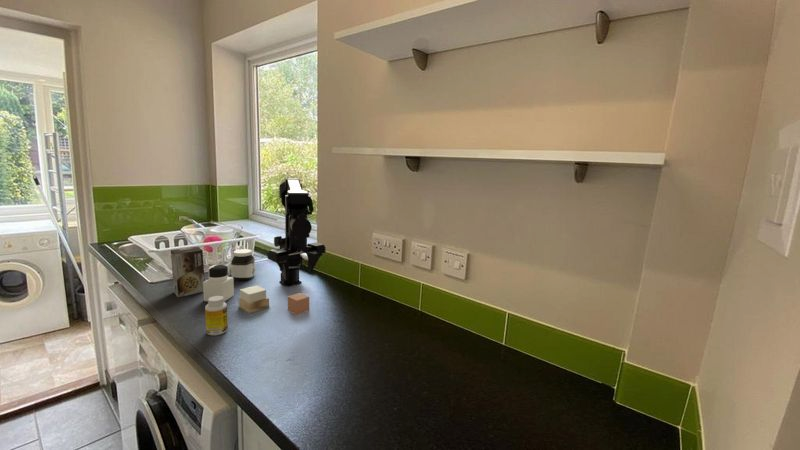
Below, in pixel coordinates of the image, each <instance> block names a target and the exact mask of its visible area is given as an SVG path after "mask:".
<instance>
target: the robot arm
mask: <svg viewBox="0 0 800 450" xmlns="http://www.w3.org/2000/svg"><path fill="white" fill-rule="evenodd" d="M278 187H279V188H278V197H279V199H280V203H281V204H282V206H283V207H284V210H285V211H284V219H285V221H284V222H285V223H284V224H285V225H284V226H285V227H284V228H285V229H284V232H285V233H284V234H285V237H282V236H280V235H279V236H274V237H273V244H274V247H279V248H276V249H275V248H274V249H270V250H269V251H267V260H270V261H271V262H274V263H276V264H277V266H278V267H279V271H280V280H279V284H282V285H284V286H285V287H286V286H287V287H291V286H295V285H298V284H302V281H301V280H300V270H302V269H303V267H304V266H303V265H304V264H303V263H304V257H303V256H302V254H306V256H307V274H308V275H311V274H312V273H313V270H314V269H315V267H316V265H317V263H318V261H319V260H320V258H321V257H322V256H324V255H323V254H325V253H326V251H327V248H326V246H325V244H324V243H321V242H317V241H316V242H309V243H308V238H310V233H311V231H312V230H313V229H312V223H311V222H310V220H309V219H308V216H309V215H310V216H311V215H313V212H314V202H313V199H312V197H311V195H309V192H308V191H307V190H304V189H303V188H304V187H303V184H301V180H300V178H297V177H286V178H284V181H283V182H281V183H280V184H279V186H278Z"/></svg>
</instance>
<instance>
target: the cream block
mask: <svg viewBox="0 0 800 450" xmlns="http://www.w3.org/2000/svg"><path fill="white" fill-rule="evenodd" d="M239 296H240V297H239V298H241V299H243V300H245V301H246V302H248V303H252V302H255V301H259V300H262V299H265V298H266V297H267V289H265V288H263V287H261V286H259V285H252V286H249V287H244V288H242V289H241V288H240V289H239Z"/></svg>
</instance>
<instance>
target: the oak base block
mask: <svg viewBox="0 0 800 450" xmlns="http://www.w3.org/2000/svg"><path fill="white" fill-rule="evenodd" d="M238 307H239V308H241V309H242V310H244V311H245V312H247V313H249V314H251V313H254V312H258V311H261V310H265V309H267V308H270V297H267V296H266V298H265V299H262V300H259V301H255V302H252V303H248V302H246V301H245V300H243V299H241V298H240V297H239V298H238Z"/></svg>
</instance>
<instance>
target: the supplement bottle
mask: <svg viewBox="0 0 800 450" xmlns="http://www.w3.org/2000/svg"><path fill="white" fill-rule="evenodd" d="M204 311H205V312H204V313H205V316H204V317H205V332H206V334H207V335H209V336H219V335H220V336H221V335H223V334H225V333H226V332H227V331H228V328H229V326H228V323H229V322H228V304H227V303H226V301H225V302H224V297H223V296H213V297H210V298H209V299H208V301H207V304H206V305H205V307H204Z"/></svg>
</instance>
